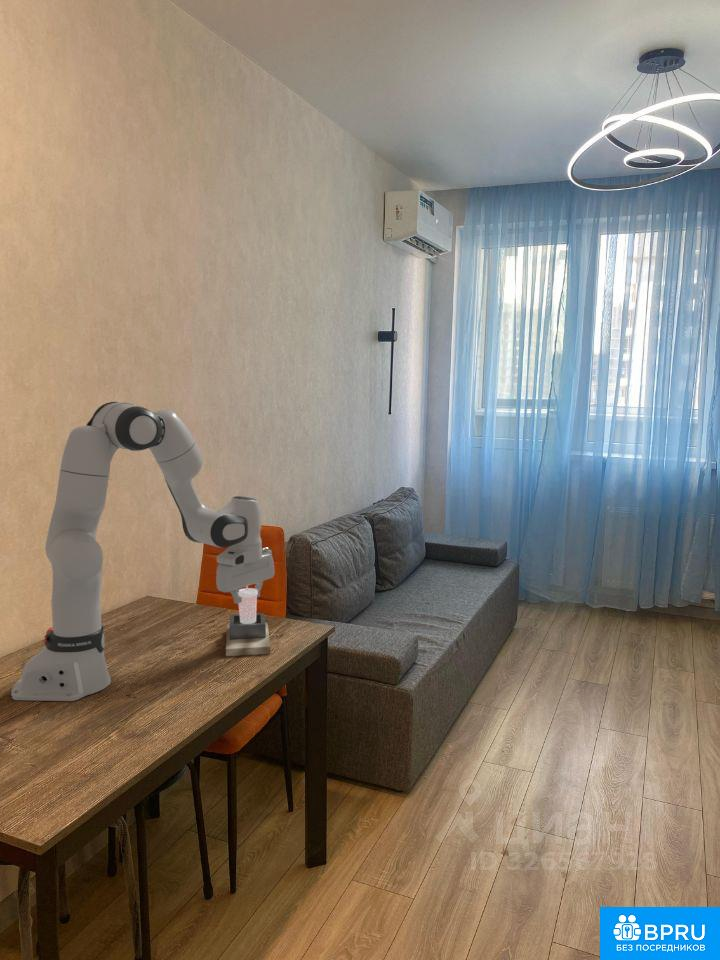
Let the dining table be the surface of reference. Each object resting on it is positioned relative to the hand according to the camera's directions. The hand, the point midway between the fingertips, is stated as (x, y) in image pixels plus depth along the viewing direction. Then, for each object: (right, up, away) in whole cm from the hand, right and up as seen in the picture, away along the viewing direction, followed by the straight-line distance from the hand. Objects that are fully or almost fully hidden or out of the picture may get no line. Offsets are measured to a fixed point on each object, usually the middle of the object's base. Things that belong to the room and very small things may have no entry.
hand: (247, 599), depth 214 cm
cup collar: (0, -10, +1) cm, 10 cm away
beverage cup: (0, -7, +1) cm, 7 cm away
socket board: (0, -12, 0) cm, 12 cm away
